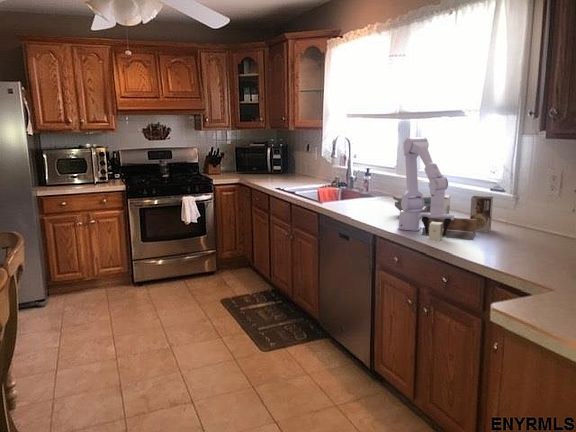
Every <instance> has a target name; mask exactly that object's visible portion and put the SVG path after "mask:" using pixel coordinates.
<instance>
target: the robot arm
mask: <svg viewBox="0 0 576 432" xmlns="http://www.w3.org/2000/svg"><path fill="white" fill-rule="evenodd" d="M402 143H403V155H404V157H405V159H404V160H405V175H406V176H405V177H406V180H405V181H406V191H405V192H404V193H403V194H402V195H401V196H402V201H401V207H402V209H403V210H401V211H400V210H399V216H398V217H399V218H398V230H403V231H413V232H414V231H415V232H418V231H420V230H421V229H422V226H420V219H421V222H422V224H423V227H425V232H426V234H428V224H429V218H437V219H445V220H444V232H443V236H445V235H446V231H447V228H448V226H449V224H450V222H451V220H454V218H455V215H454V214H450V213H449V214H444V196H445V195H446V190H447V189H448V186H449V181H448V178H447V177H446V176H444V175H443V174H442V173H441V171H440V169H439V167H438V164H437V163H434V162H433V160H432V157H431V154H430V151H429V147H430V146H429V141H428V139H427V138H426V137H425V136H424V137H423V136H422V137H406V138H405V140H404V142H402ZM418 157H420V159H421V161H422V163H423V165H424V166H425V167H424V172H425V174H426V176H427V179H428V180H429V182H428V188H429V195H431V205H430V213H420V211H421V209H424V208H425V206H424V200H423V195H424V194H423V193H422V192H421V191H419V183H418V161H417V160H418ZM413 196H415V197H413ZM409 197H413V198H409Z"/></svg>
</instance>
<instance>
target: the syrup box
mask: <svg viewBox="0 0 576 432" xmlns="http://www.w3.org/2000/svg"><path fill="white" fill-rule="evenodd" d="M451 197H452V196H451V195H449V194H445V196H444V214H449V215H450V207H451Z"/></svg>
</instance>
